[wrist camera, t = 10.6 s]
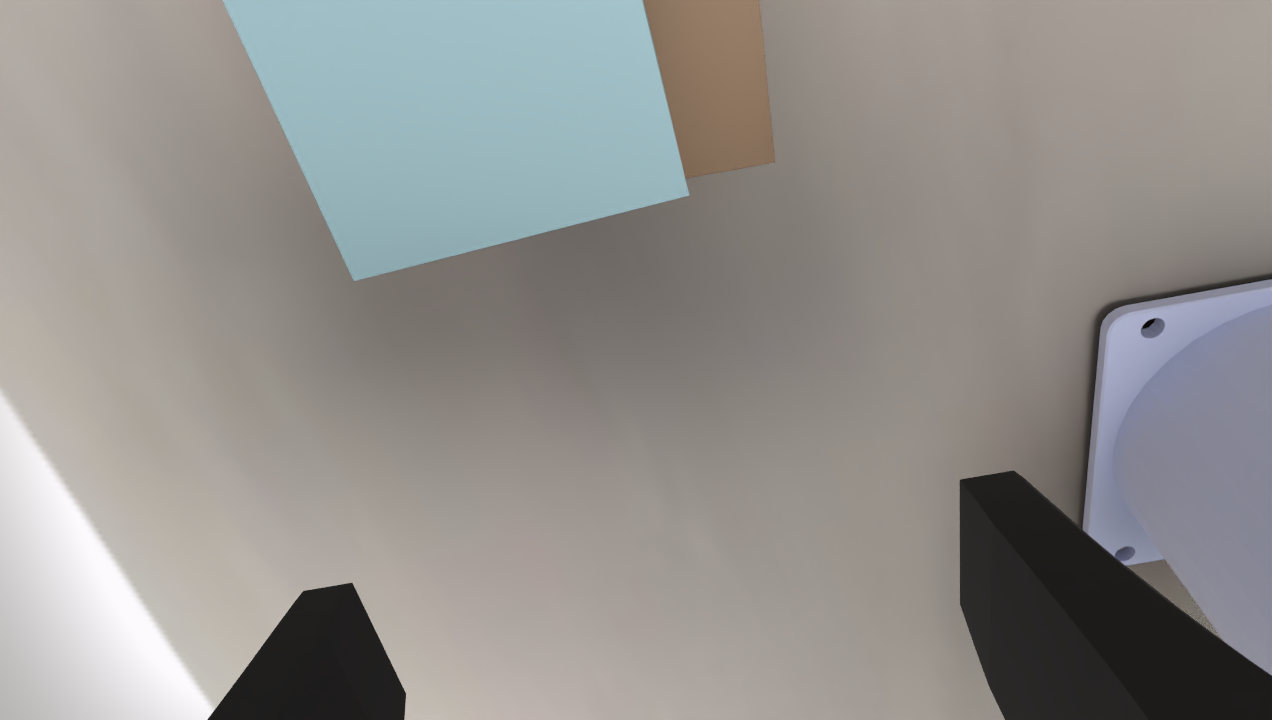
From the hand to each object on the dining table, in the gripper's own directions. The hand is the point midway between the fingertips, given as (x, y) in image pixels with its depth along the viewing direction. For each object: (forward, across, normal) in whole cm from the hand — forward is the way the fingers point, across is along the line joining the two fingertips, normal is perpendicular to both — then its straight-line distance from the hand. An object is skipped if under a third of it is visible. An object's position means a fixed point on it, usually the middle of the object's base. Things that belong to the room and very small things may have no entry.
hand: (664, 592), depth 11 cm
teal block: (+8, +1, -6) cm, 10 cm away
